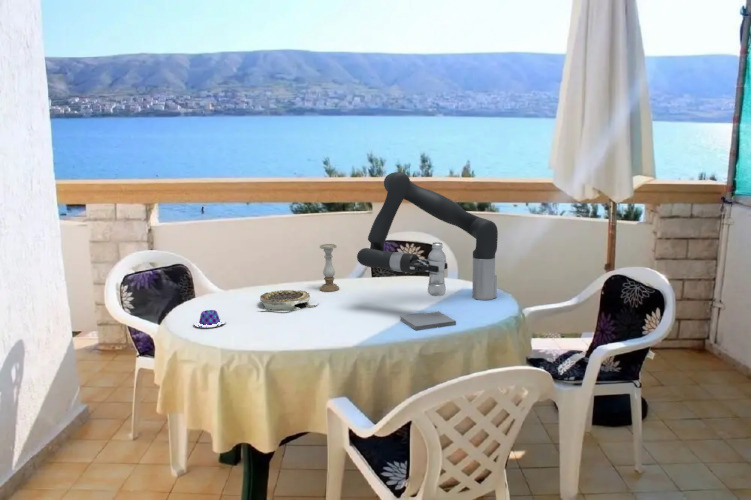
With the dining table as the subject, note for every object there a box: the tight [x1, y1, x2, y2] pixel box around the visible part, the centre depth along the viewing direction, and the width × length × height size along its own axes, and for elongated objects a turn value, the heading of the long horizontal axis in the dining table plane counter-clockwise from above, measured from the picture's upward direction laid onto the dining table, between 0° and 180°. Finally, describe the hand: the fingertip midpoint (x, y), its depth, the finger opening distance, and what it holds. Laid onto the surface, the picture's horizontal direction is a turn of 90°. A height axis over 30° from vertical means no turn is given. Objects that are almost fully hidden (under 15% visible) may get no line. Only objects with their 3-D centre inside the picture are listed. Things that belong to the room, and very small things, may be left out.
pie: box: [259, 289, 318, 314], centre depth 270 cm, size 28×27×5 cm
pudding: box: [198, 309, 221, 325], centre depth 242 cm, size 12×12×5 cm
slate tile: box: [399, 311, 457, 331], centre depth 239 cm, size 16×14×2 cm
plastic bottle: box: [427, 241, 447, 297], centre depth 241 cm, size 6×7×20 cm
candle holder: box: [319, 243, 340, 293], centre depth 291 cm, size 9×9×20 cm
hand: (442, 267), depth 239 cm, fingers closed on plastic bottle, 6 cm apart
